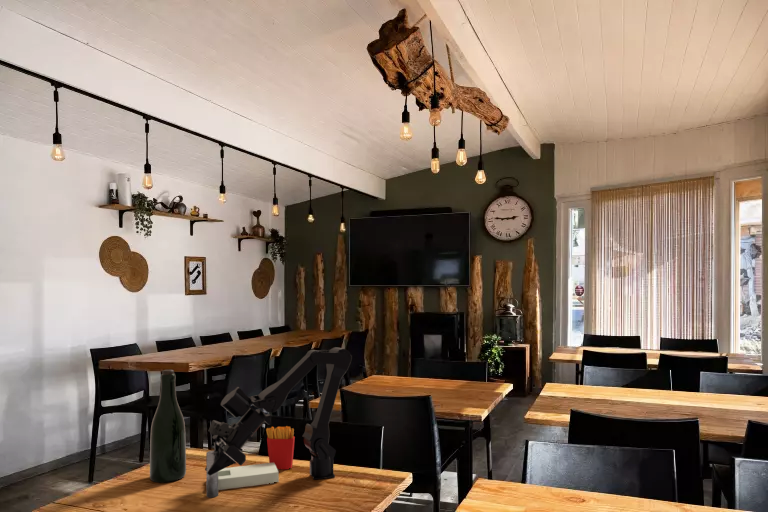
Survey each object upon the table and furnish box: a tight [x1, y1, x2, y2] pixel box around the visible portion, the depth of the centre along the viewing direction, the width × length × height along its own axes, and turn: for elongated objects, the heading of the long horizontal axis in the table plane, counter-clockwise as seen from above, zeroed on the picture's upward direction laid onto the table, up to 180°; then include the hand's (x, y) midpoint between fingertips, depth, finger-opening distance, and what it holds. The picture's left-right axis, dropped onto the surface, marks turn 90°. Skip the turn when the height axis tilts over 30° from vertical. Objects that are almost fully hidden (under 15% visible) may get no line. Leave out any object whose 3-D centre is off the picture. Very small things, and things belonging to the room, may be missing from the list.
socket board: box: [218, 462, 280, 491], centre depth 172 cm, size 19×10×3 cm, turn 108°
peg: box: [205, 450, 219, 499], centre depth 160 cm, size 3×3×12 cm
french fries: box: [265, 425, 296, 470], centre depth 184 cm, size 9×4×13 cm, turn 85°
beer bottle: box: [149, 369, 187, 483], centre depth 177 cm, size 10×10×33 cm
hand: (207, 472), depth 160 cm, fingers closed on peg, 3 cm apart
